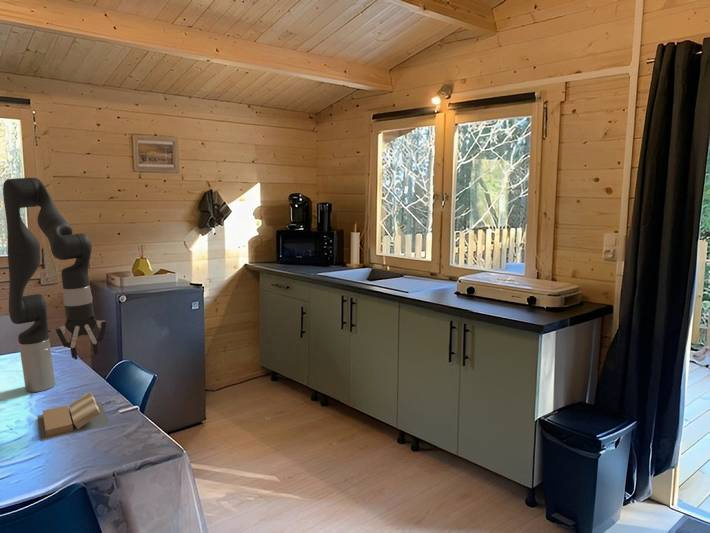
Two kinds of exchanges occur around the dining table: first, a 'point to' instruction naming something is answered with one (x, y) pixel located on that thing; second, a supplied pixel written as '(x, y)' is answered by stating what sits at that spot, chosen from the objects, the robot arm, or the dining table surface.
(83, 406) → the oak plank
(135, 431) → the dining table surface
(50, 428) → the floor section
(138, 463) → the dining table surface
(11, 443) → the dining table surface
